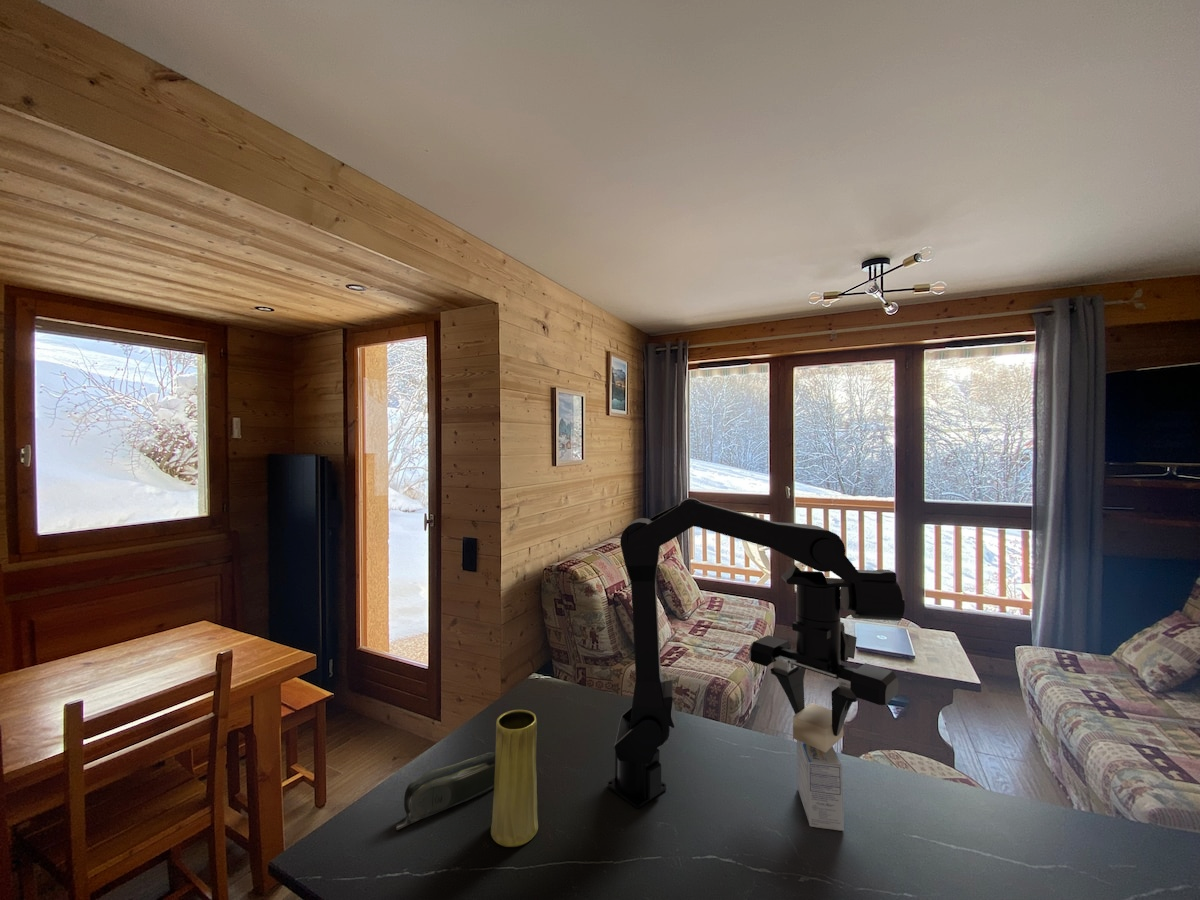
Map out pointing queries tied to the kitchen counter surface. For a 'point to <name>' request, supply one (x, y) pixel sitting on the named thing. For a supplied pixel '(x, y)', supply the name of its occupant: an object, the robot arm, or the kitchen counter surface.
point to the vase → (515, 779)
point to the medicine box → (820, 786)
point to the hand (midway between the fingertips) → (818, 727)
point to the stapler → (448, 787)
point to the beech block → (815, 727)
